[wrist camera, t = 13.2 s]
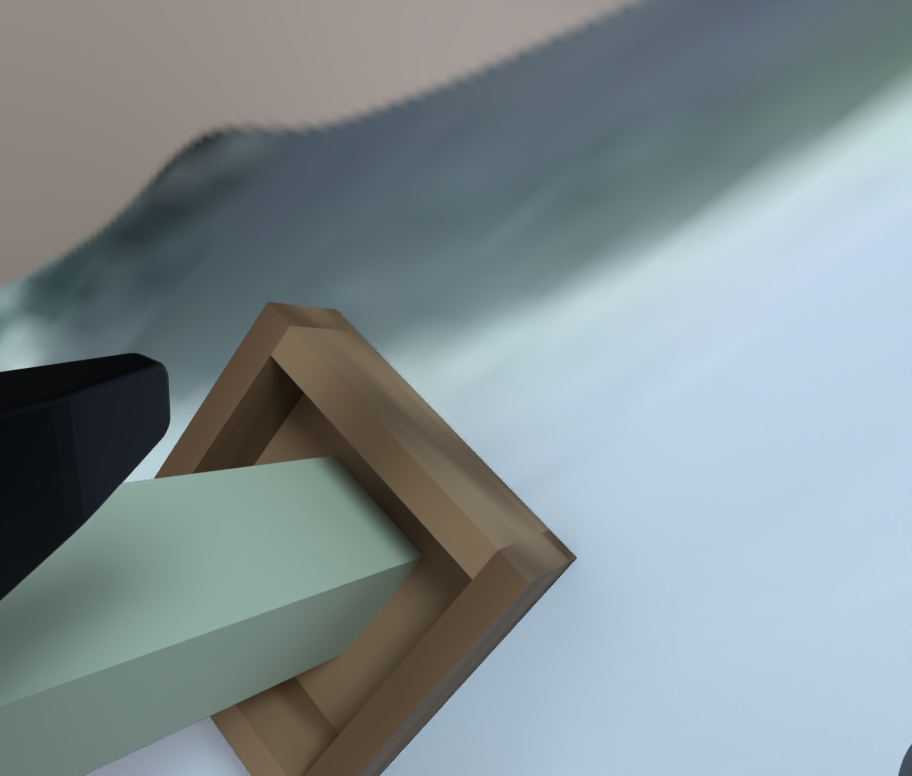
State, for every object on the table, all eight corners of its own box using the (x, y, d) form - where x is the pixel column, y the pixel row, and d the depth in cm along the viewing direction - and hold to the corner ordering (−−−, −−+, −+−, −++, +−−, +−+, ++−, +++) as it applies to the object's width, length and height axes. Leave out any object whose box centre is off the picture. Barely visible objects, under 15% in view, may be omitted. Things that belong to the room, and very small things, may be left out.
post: (424, 556, 23) (-57, 725, 12) (345, 652, 25) (-155, 886, 13) (334, 455, 25) (-172, 521, 13) (264, 551, 26) (-250, 684, 15)
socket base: (577, 557, 22) (528, 582, 19) (363, 792, 25) (297, 841, 22) (336, 309, 25) (267, 301, 23) (177, 543, 29) (100, 560, 26)
